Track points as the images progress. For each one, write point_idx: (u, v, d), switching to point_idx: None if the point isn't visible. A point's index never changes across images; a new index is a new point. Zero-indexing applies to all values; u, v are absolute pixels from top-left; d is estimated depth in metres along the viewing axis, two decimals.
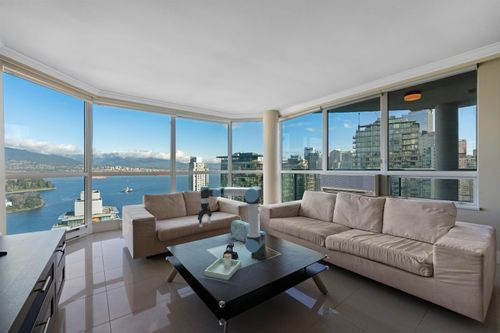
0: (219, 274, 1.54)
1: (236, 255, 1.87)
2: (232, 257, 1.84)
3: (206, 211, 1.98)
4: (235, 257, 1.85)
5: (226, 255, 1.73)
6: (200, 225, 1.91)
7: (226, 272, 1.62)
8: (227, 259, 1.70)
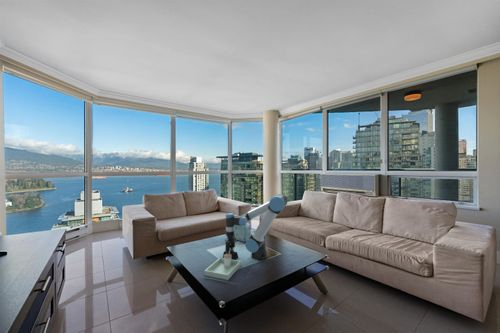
0: (219, 274, 1.54)
1: (236, 255, 1.86)
2: (231, 257, 1.84)
3: (231, 240, 1.89)
4: (235, 257, 1.85)
5: (226, 255, 1.73)
6: None
7: (226, 272, 1.62)
8: (227, 259, 1.70)
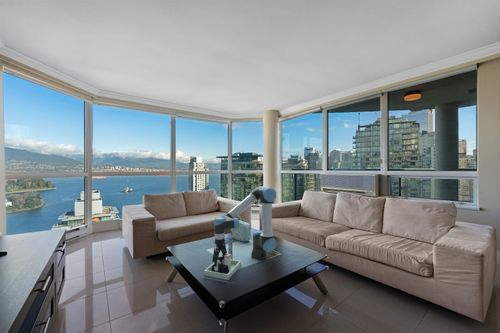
0: (219, 274, 1.54)
1: (227, 269, 1.59)
2: (221, 271, 1.57)
3: (221, 248, 1.62)
4: (225, 271, 1.58)
5: (226, 255, 1.73)
6: (215, 268, 1.56)
7: None
8: (227, 259, 1.70)
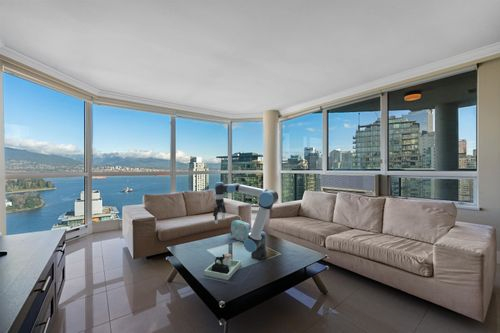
0: (219, 274, 1.54)
1: (227, 269, 1.60)
2: (222, 271, 1.57)
3: (221, 207, 1.96)
4: (226, 271, 1.58)
5: (226, 255, 1.73)
6: (215, 221, 1.89)
7: None
8: (227, 259, 1.70)
